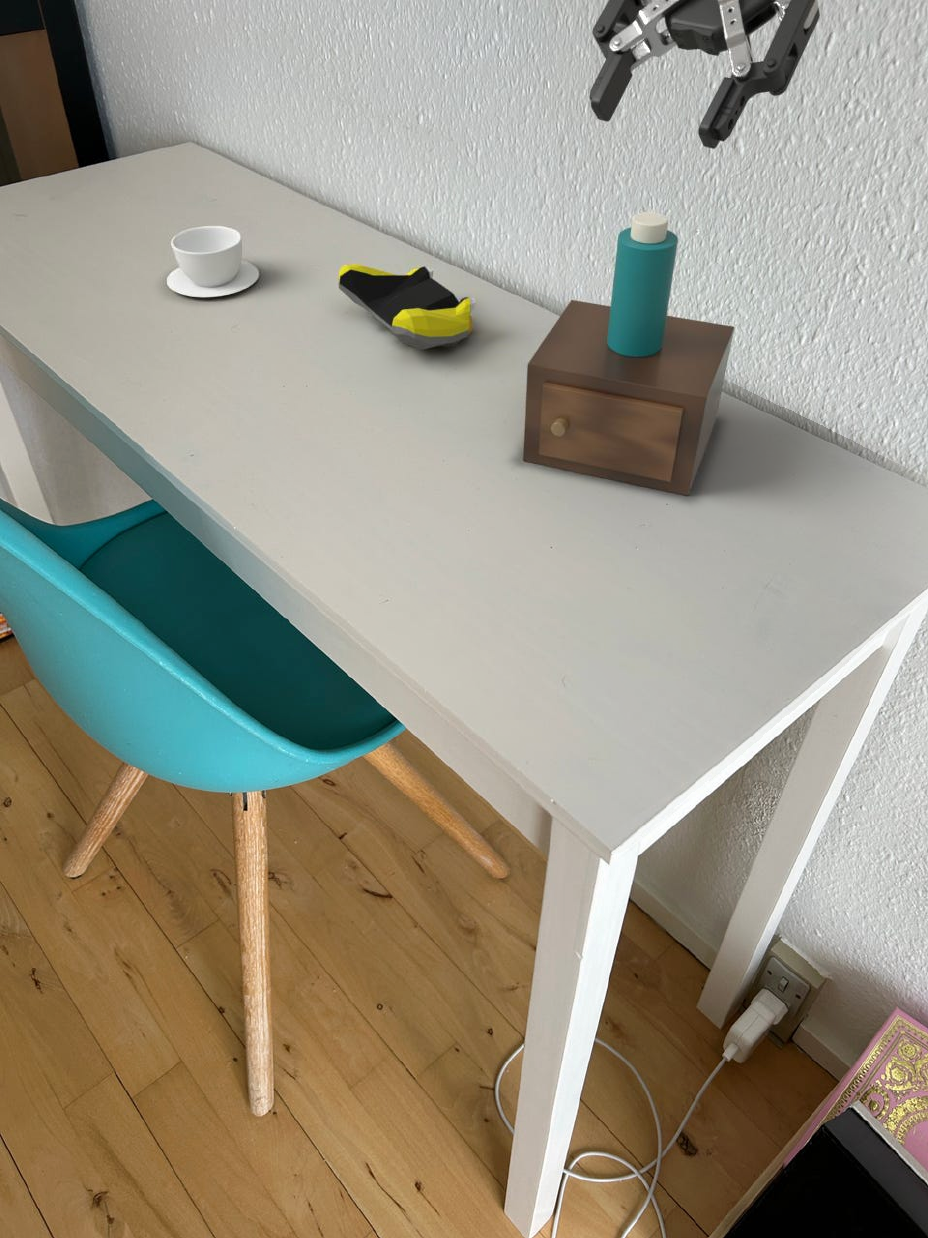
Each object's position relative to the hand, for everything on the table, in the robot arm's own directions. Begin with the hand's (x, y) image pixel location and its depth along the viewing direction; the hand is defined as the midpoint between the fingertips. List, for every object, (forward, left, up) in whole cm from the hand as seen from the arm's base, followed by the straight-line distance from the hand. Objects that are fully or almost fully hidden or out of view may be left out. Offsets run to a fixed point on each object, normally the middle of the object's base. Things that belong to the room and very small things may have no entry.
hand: (650, 127), depth 66 cm
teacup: (+50, -16, -26) cm, 58 cm away
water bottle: (0, -1, -17) cm, 17 cm away
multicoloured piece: (+25, -13, -26) cm, 38 cm away
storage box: (0, -1, -26) cm, 26 cm away
